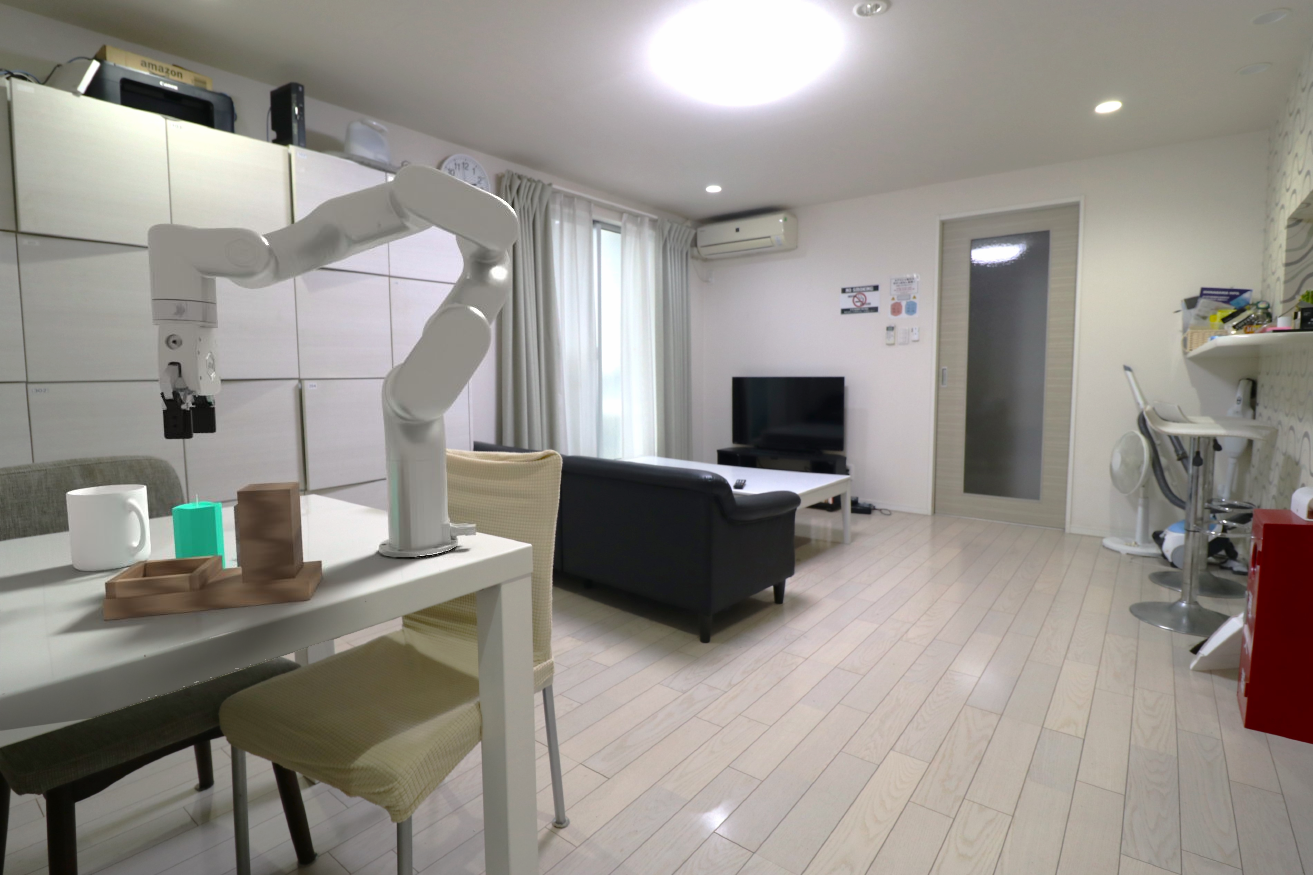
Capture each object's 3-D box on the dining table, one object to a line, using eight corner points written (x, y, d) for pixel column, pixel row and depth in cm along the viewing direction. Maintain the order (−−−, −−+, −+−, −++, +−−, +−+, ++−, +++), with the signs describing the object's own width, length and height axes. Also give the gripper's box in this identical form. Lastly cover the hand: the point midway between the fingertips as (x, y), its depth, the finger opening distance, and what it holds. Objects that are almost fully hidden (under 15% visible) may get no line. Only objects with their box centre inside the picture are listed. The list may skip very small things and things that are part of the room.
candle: (200, 582, 91) (195, 499, 90) (165, 579, 92) (159, 497, 91) (236, 570, 97) (231, 491, 95) (203, 567, 98) (197, 490, 97)
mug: (110, 554, 105) (105, 484, 104) (181, 555, 105) (176, 484, 103) (54, 571, 96) (47, 494, 94) (132, 572, 95) (126, 495, 94)
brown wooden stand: (322, 577, 93) (317, 478, 92) (309, 599, 84) (304, 490, 82) (140, 593, 86) (132, 487, 85) (104, 620, 77) (94, 501, 75)
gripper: (194, 311, 84) (201, 440, 85) (234, 322, 100) (239, 430, 102) (125, 308, 81) (133, 442, 83) (177, 320, 98) (183, 431, 99)
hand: (191, 435), depth 92 cm, fingers open, 9 cm apart
